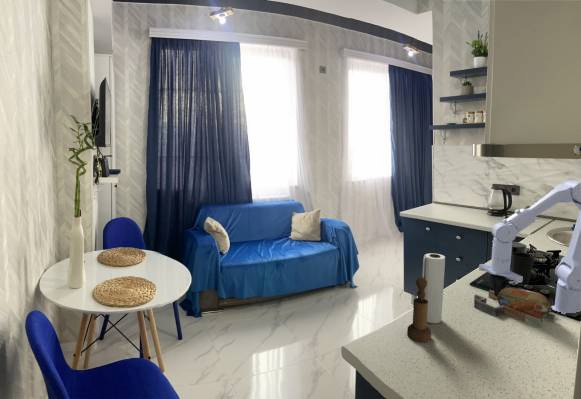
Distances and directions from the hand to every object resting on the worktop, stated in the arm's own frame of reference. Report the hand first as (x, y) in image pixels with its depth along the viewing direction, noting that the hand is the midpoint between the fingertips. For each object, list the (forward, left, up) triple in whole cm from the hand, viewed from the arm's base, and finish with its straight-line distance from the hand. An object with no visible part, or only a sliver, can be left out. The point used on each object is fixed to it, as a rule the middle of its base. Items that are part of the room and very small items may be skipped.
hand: (497, 295), depth 132 cm
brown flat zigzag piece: (0, +5, -3) cm, 6 cm away
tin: (-1, +8, -4) cm, 9 cm away
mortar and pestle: (+40, +2, -4) cm, 40 cm away
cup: (-26, -8, -4) cm, 27 cm away
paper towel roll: (+29, -4, -4) cm, 29 cm away
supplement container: (-38, -19, -4) cm, 43 cm away
